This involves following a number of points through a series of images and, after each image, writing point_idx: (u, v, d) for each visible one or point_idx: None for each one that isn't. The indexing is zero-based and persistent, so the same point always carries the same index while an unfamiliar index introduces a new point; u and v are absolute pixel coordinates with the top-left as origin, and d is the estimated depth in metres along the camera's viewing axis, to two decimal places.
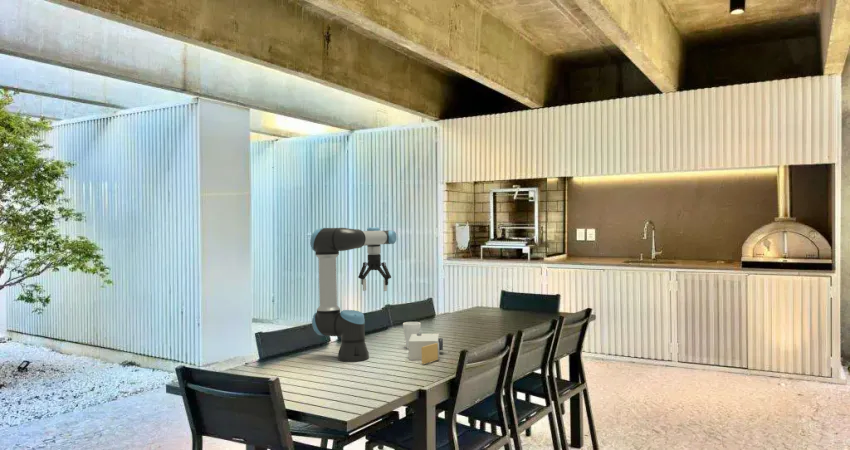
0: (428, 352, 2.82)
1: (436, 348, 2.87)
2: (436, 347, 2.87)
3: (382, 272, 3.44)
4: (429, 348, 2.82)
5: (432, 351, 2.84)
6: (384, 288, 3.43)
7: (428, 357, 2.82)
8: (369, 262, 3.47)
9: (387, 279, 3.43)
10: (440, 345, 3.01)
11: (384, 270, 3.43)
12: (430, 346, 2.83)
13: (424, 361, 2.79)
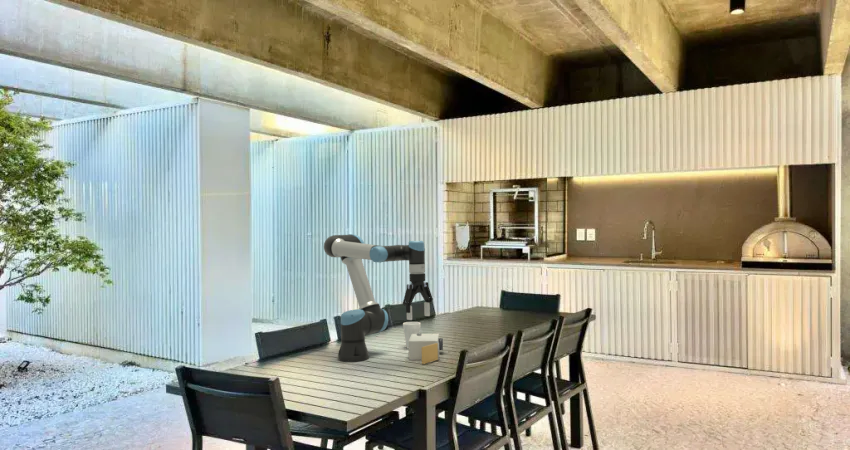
0: (428, 352, 2.82)
1: (436, 348, 2.87)
2: (436, 347, 2.87)
3: None
4: (429, 348, 2.82)
5: (432, 351, 2.84)
6: (407, 316, 2.80)
7: (428, 357, 2.82)
8: None
9: (406, 305, 2.79)
10: (440, 345, 3.01)
11: None
12: (430, 346, 2.83)
13: (424, 361, 2.79)
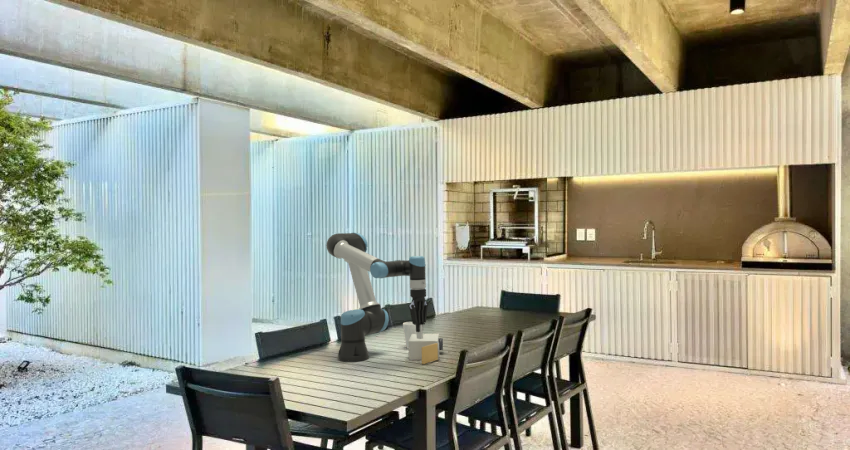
0: (428, 352, 2.82)
1: (436, 348, 2.87)
2: (436, 347, 2.87)
3: None
4: (429, 348, 2.82)
5: (432, 351, 2.84)
6: None
7: (428, 357, 2.82)
8: None
9: (416, 325, 2.83)
10: (440, 345, 3.01)
11: None
12: (430, 346, 2.83)
13: (424, 361, 2.79)
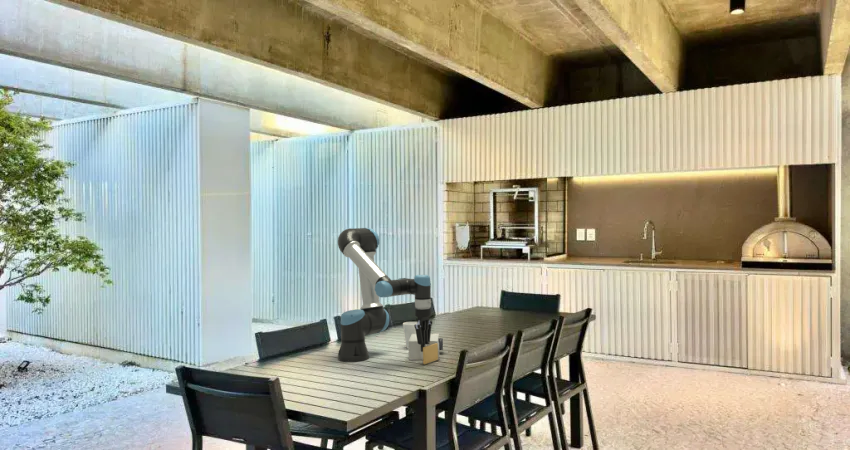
0: (429, 352, 2.81)
1: (436, 348, 2.87)
2: (436, 347, 2.87)
3: None
4: (430, 348, 2.82)
5: (433, 351, 2.84)
6: (421, 354, 2.82)
7: (429, 357, 2.82)
8: None
9: (421, 344, 2.80)
10: (440, 345, 3.01)
11: None
12: (431, 346, 2.83)
13: (425, 361, 2.79)
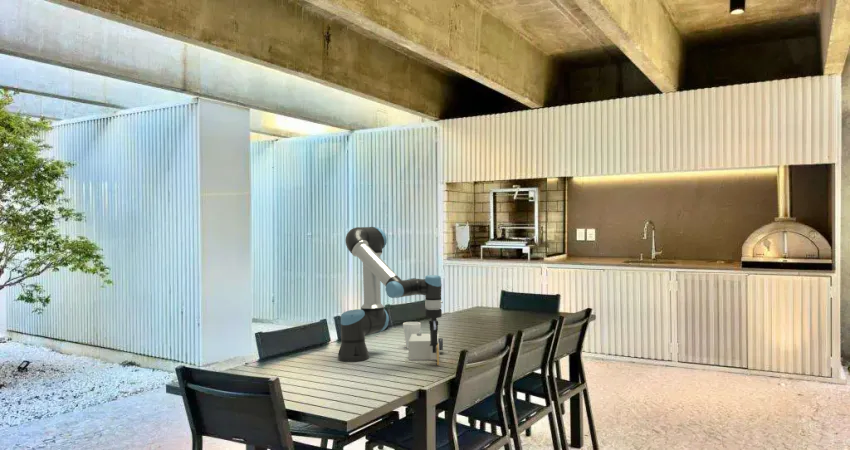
0: None
1: None
2: None
3: None
4: None
5: None
6: (431, 356, 2.78)
7: None
8: None
9: (433, 346, 2.77)
10: (440, 345, 3.01)
11: (431, 334, 2.75)
12: (438, 346, 2.82)
13: (438, 362, 2.77)
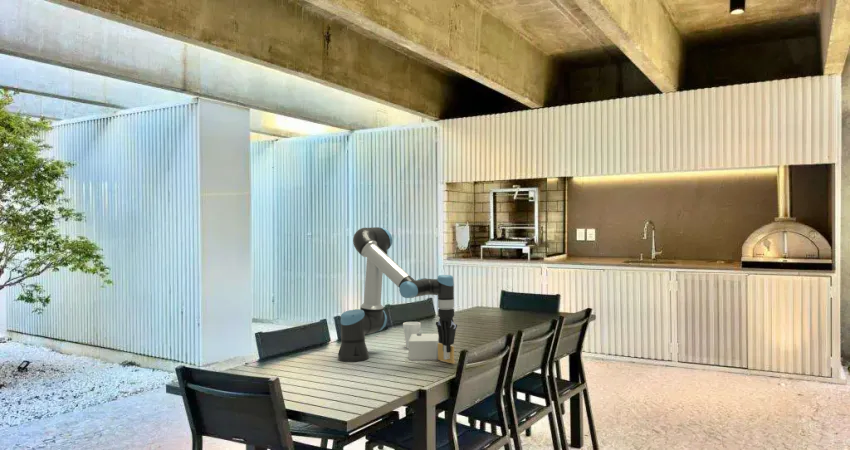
0: None
1: None
2: None
3: (447, 335, 2.78)
4: None
5: None
6: (445, 356, 2.78)
7: None
8: None
9: (448, 345, 2.78)
10: None
11: (449, 333, 2.76)
12: None
13: None
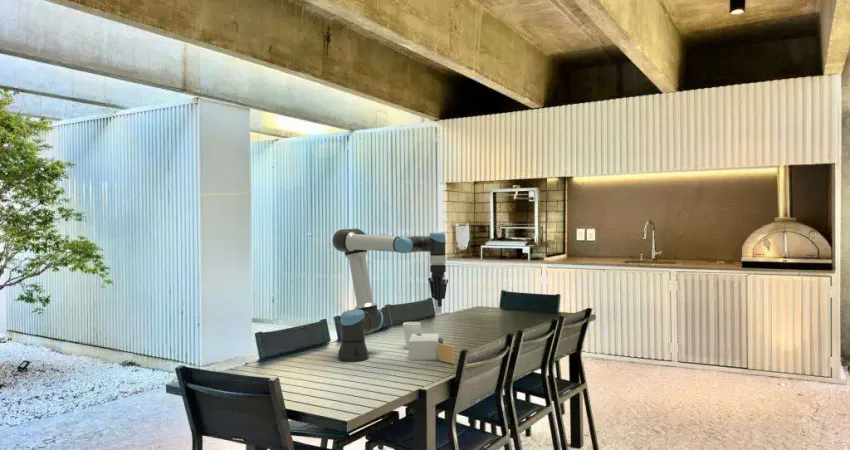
0: None
1: None
2: None
3: (439, 290, 2.87)
4: None
5: None
6: (436, 310, 2.87)
7: None
8: (432, 273, 2.90)
9: (440, 299, 2.87)
10: None
11: (441, 288, 2.85)
12: None
13: None
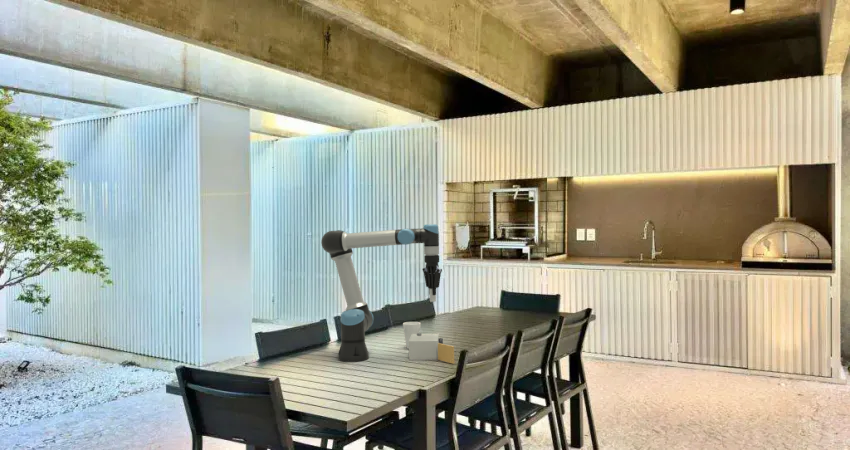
0: None
1: None
2: None
3: (433, 279, 3.01)
4: None
5: None
6: (431, 298, 3.02)
7: None
8: (426, 264, 3.05)
9: (434, 288, 3.01)
10: None
11: (435, 277, 2.99)
12: None
13: None
